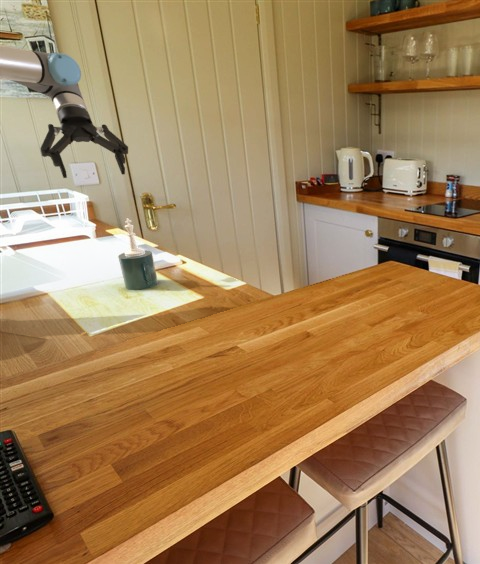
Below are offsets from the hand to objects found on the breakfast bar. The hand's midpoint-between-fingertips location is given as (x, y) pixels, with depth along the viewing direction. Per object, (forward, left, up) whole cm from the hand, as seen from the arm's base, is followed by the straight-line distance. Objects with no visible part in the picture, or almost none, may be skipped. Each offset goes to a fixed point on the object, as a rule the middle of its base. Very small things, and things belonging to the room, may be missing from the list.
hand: (95, 173), depth 117 cm
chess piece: (+11, -10, -21) cm, 25 cm away
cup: (+11, -11, -30) cm, 34 cm away
